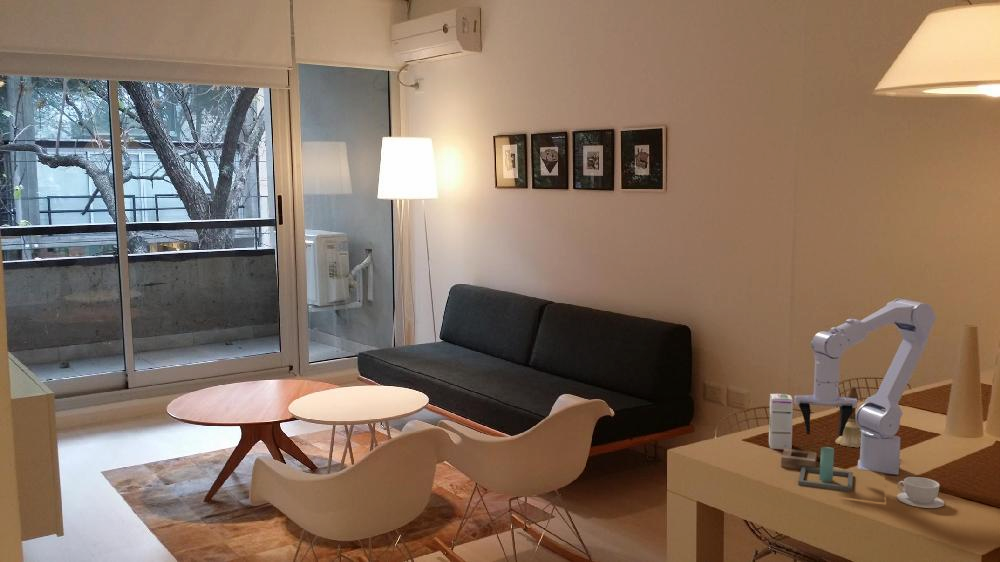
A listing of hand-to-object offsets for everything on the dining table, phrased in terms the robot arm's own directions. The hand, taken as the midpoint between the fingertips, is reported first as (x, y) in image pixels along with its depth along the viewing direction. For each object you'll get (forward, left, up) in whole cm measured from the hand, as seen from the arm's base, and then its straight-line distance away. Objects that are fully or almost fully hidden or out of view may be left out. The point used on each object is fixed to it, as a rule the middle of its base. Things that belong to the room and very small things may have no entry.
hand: (824, 433), depth 221 cm
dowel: (-1, +6, -10) cm, 12 cm away
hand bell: (-6, -30, -11) cm, 32 cm away
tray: (-1, +6, -10) cm, 12 cm away
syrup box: (+12, -18, -11) cm, 24 cm away
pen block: (+6, -4, -10) cm, 12 cm away
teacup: (-22, +11, -11) cm, 27 cm away
